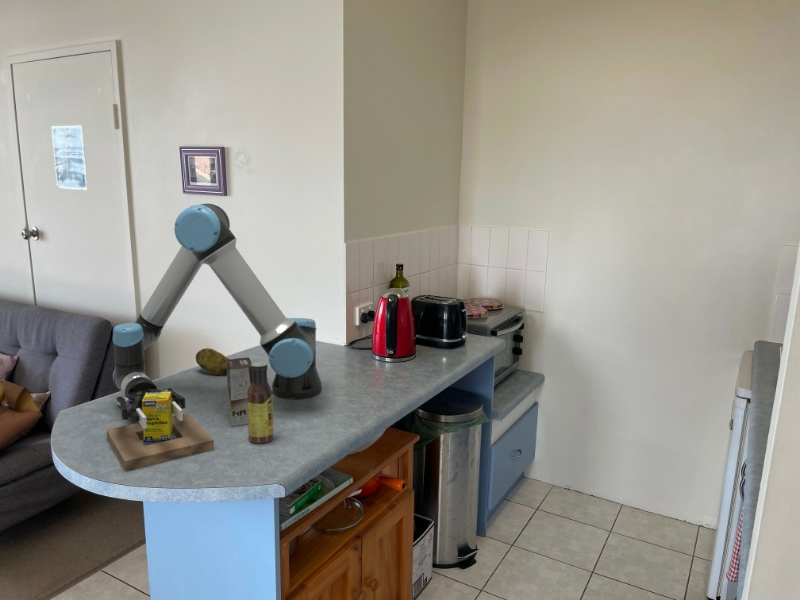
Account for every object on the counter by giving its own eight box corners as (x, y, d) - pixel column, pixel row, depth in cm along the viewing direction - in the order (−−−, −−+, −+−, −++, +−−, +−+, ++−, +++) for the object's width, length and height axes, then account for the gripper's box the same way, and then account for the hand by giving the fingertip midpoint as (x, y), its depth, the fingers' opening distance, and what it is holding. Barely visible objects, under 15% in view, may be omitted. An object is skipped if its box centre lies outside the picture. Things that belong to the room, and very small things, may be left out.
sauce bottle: (274, 443, 150) (273, 367, 145) (248, 445, 148) (247, 369, 144) (272, 432, 156) (271, 359, 152) (247, 434, 154) (245, 361, 150)
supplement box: (143, 443, 143) (141, 400, 141) (147, 433, 149) (145, 392, 147) (170, 442, 145) (168, 399, 142) (173, 431, 150) (171, 390, 148)
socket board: (188, 421, 161) (187, 412, 160) (213, 449, 145) (213, 440, 145) (107, 438, 149) (106, 429, 149) (125, 471, 134) (125, 461, 133)
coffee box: (255, 423, 161) (254, 366, 158) (231, 426, 158) (229, 369, 155) (250, 411, 169) (249, 357, 166) (227, 413, 167) (225, 358, 164)
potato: (218, 380, 193) (217, 356, 192) (192, 372, 200) (191, 349, 198) (237, 373, 200) (237, 350, 199) (211, 366, 207) (210, 344, 205)
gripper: (179, 396, 166) (206, 424, 148) (98, 411, 154) (117, 443, 136) (177, 370, 165) (205, 396, 147) (96, 383, 153) (115, 413, 135)
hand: (163, 419), depth 142 cm, fingers closed on supplement box, 8 cm apart
